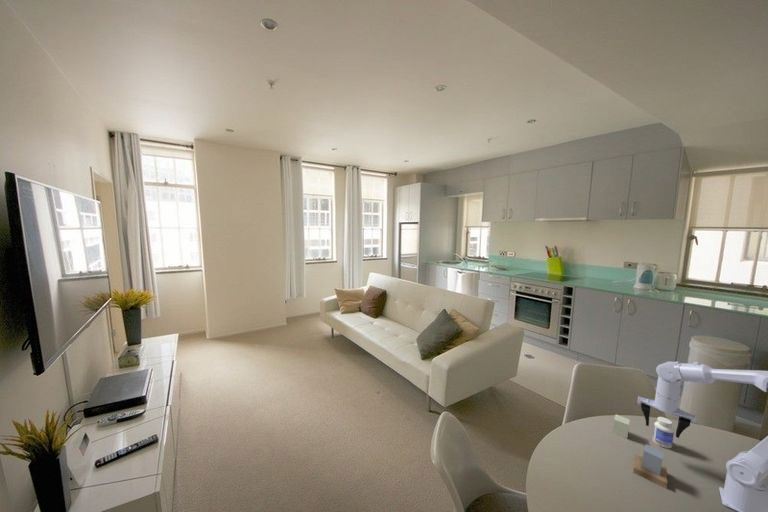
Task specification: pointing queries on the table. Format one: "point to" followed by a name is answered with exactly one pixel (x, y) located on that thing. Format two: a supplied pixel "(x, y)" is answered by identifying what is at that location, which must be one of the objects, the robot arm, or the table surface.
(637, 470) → the walnut block
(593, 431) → the table surface
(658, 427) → the pill bottle
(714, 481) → the table surface
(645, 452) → the slate block
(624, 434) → the sage block
